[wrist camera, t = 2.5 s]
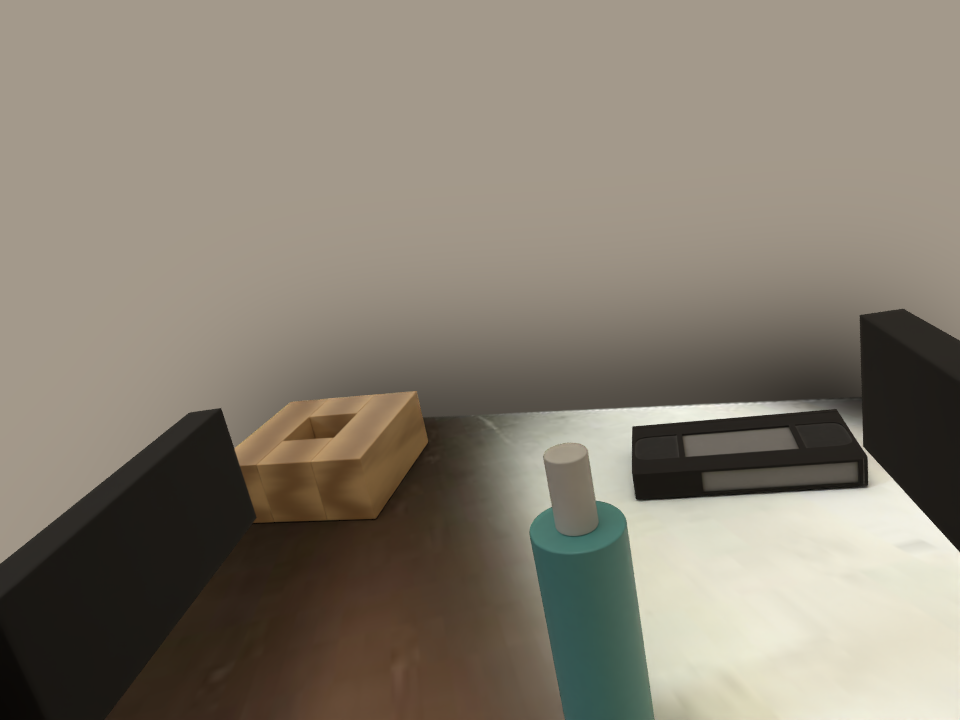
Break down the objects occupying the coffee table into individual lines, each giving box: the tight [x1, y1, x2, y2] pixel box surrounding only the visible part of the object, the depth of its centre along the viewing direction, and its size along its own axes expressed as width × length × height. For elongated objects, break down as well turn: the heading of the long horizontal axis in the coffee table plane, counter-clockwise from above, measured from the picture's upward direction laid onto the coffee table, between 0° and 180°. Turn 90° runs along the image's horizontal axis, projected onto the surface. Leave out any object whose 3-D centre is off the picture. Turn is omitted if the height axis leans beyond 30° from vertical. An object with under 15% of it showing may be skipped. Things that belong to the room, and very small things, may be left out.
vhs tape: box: [632, 409, 868, 499], centre depth 49 cm, size 8×14×2 cm, turn 78°
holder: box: [234, 391, 428, 523], centre depth 59 cm, size 13×13×5 cm
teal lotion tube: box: [530, 443, 654, 720], centre depth 27 cm, size 4×4×14 cm
